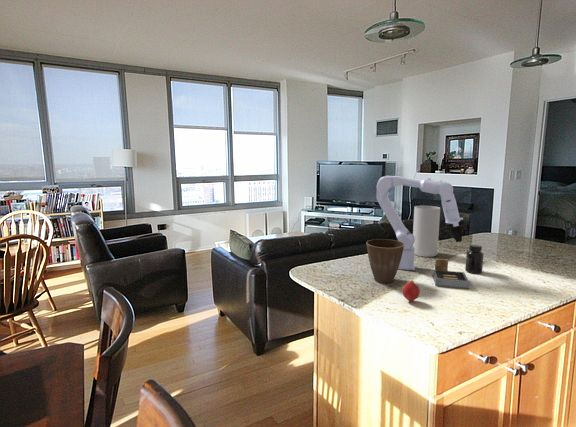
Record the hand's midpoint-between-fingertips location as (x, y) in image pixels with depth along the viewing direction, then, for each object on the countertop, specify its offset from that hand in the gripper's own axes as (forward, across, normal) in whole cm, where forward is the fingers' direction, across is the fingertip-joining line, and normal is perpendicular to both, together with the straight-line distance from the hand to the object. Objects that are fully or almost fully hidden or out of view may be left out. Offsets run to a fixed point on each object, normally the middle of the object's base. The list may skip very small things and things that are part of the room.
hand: (457, 240), depth 154 cm
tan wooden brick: (+13, 0, +10) cm, 16 cm away
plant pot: (+7, -18, +33) cm, 38 cm away
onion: (+11, -38, +24) cm, 46 cm away
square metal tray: (+14, -13, +8) cm, 20 cm away
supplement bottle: (+17, +5, -4) cm, 18 cm away
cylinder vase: (+11, +30, +14) cm, 35 cm away
